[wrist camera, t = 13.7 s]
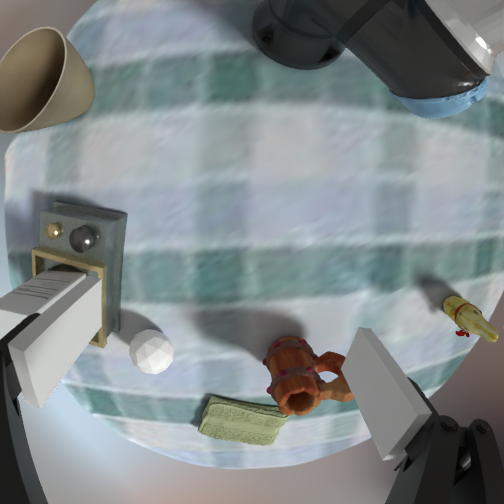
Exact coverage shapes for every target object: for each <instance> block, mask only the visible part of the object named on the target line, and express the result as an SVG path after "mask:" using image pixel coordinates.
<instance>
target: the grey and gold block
mask: <svg viewBox="0 0 504 504" xmlns="http://www.w3.org/2000/svg"><path fill="white" fill-rule="evenodd" d="M126 222H127V214H125V213H120V212H115V211H109V210H104V209H99V208H93V207H88V206H82V205H77V204H71V203H66V202H60V201H54V202H53V208H50V209H46V210H43V211H40V222H39V247H35V248H33V249H32V273H33V277H35V276H37V275H38V274H40V273H42V272H43V271H45V270H50V271H63V272H78V273H85V274H86V277H87V276H93V277H97V278H100V279H102V287H101V317H102V327H101V328H100V329H99V330H98V332H97V333H96V334H95V335H94V337H93V338H92V339H91V341H90V342H89V343H88V344H92V345H95V346H98V347H101V348H104V347H105V346H106V344H107V337H108V336H109V335H110V333H111V332H112V331H113V332H117V333H118V332H119V331H120V300H121V278H122V263H123V251H124V240H125V230H126Z"/></svg>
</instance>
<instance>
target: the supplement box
mask: <svg viewBox="0 0 504 504" xmlns="http://www.w3.org/2000/svg"><path fill="white" fill-rule="evenodd" d="M85 278H86V274H85V273H78V272H63V271H50V270H45V271H43V272H42V273H40V274H38V275H37V276H35V277H33V278H32V279H30V280H28V281H27V282H25V283H24V284H22V285H20V286H19V287H17V288H16V289H14V290H13V291H11V292H9V293H8V294H6V295H5V296H3V297H2V298H0V339H1V338H3V337H4V336H5V335H6V334H7V333H8V332H9V331H11V330H12V329H13V328H15V326H16V325H18V324H19V323H21V321H22V320H23V319H25V318H26V317H27V316H29V315H32V314H34V313H37V312H38V313H40V314H42V313H43V312H44V311H45V310H47V309H48V308H49V307H50V306H51V305H53V304H54V303H55V302H56V301H57V300H59V299H60V298H61V297H62V296H63V295H65V294H66V293H67V292H68V291H70V290H71V289H72V288H73V287H75V286H76V285H77V284H78V283H80V282H81V281H82V280H83V279H85Z"/></svg>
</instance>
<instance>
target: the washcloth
mask: <svg viewBox="0 0 504 504" xmlns="http://www.w3.org/2000/svg"><path fill="white" fill-rule="evenodd" d="M288 418H289V415H286V414H284V413H282V412H281V411H279V408H278V407H272V406H266V405H264V406H262V405H259V404H251V403H245V402H242V401H241V402H240V401H238V402H237V401H233V400H228V399H227V400H226V399H223V398H219V397H216V396H211V398H210V400H209V403H208V405H207V407H206V408H205V410H204V412H203V415H202V422H201V424H200V426H199V428H198V432H200V433H202V434H204V435H207V436H209V437H213V438H215V439H221V440H222V439H223V440H229V441H235V442H243V443H248V444H254V445H262V446H263V445H270V444H272V443H273V442H274V440H275V438H276V435H277V434H278V430H279V429H280V427H282V426H283V425H284V423H285V422H286V421H287V419H288Z"/></svg>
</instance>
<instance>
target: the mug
mask: <svg viewBox="0 0 504 504" xmlns="http://www.w3.org/2000/svg"><path fill="white" fill-rule="evenodd" d="M345 358H346V357H344V356H342V355H340V354H337V353H334V352H330V351H329V352H326V353H324V354H323V355H321V356H320V357H318V356H317V355H316V354H314V352H313V350H312V348H311V347H310V346H309V344H308V343H307V342H306V341H305V340H304V339H302V338H299V337H293V336H287V337H283V338H281V339H279V340H278V341H275V342H274V343H273V345H272V346H271V347H270V348H269V351H268V354H267V357H266V358H265V359H264V360H263V365H265V366H267V368H268V370H269V372H270V373H271V377H272V382H271V385H270V386H269V387H268V388H267V393H269V394H271V396H272V398H273V399H274V400H275V401H276V402H277V404H278V408H279V411H281V412H282V413H284V414H286V415H293V414H296V415H305V414H308V413H310V412H311V411H312V410H313V408H314V407H318V405H319V404H320V401H321V400H326V399H333V400H337V401H341V402H348V401H350V400H352V399H353V398H354V396H353V394H352V392H351V390H350V388H349V386H348V383H347V381H346V379H345V377H344V375H343V373H342V371H341V367H342V365H343V363H344V361H345ZM323 371H330V372H333V373H335V374H337V375H338V376H339V377H337V378H336V379H334V380H333V381H332V382H329V383H325V381H324V380H321V378H320V376H319V374H318V373H320V372H323Z"/></svg>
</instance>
